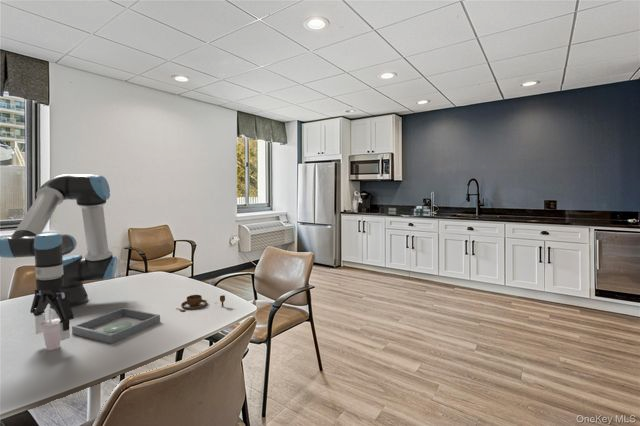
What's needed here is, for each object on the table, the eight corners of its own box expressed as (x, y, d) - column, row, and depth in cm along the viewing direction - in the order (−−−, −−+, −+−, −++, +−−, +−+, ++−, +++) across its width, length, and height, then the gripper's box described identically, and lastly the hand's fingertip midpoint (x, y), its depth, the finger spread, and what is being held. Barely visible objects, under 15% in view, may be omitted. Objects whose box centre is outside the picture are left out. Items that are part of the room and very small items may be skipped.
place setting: (202, 299, 172) (202, 288, 172) (227, 307, 161) (227, 295, 160) (171, 308, 158) (171, 296, 157) (196, 318, 146) (195, 305, 146)
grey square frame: (72, 333, 129) (71, 326, 129) (123, 314, 149) (123, 307, 149) (111, 343, 121) (110, 335, 121) (160, 321, 141) (159, 314, 141)
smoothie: (50, 343, 120) (48, 306, 119) (68, 343, 121) (67, 306, 120) (36, 352, 114) (34, 313, 113) (56, 352, 114) (54, 312, 113)
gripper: (15, 276, 117) (19, 334, 118) (60, 284, 107) (63, 346, 109) (40, 271, 124) (43, 326, 125) (84, 278, 114) (86, 337, 116)
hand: (52, 335), depth 117 cm, fingers open, 13 cm apart
